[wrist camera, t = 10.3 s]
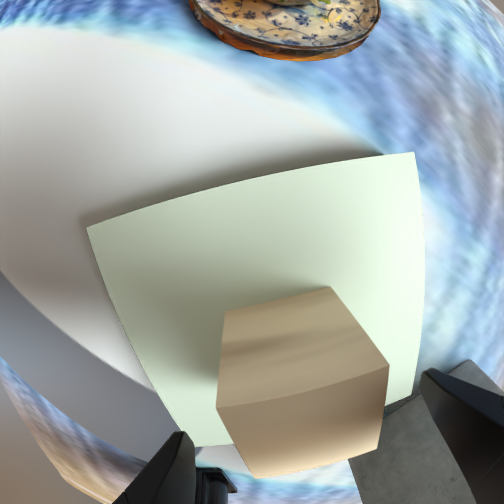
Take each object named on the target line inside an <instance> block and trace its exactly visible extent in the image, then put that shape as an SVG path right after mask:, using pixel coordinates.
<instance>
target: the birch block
mask: <svg viewBox="0 0 504 504" xmlns="http://www.w3.org/2000/svg"><path fill="white" fill-rule="evenodd" d="M389 368H390V364H389V363H388V362H387V360H386V359H385V357H384V356H383V355H382V353H381V352H380V351H379V349H378V348H377V347H376V345H375V344H374V343H373V341H372V340H371V338H370V337H369V336H368V334H367V333H366V332H365V330H364V329H363V328H362V326H361V325H360V324H359V323H358V321H357V320H356V319H355V317H354V316H353V315H352V313H351V312H350V311H349V309H348V308H347V307H346V306H345V304H344V303H343V302H342V300H341V299H340V298H339V297H338V295H337V294H336V293H335V291H334V290H333V289H332V288H331V287H327V288H323V289H319V290H316V291H312V292H308V293H304V294H300V295H296V296H291V297H287V298H283V299H279V300H275V301H270V302H266V303H261V304H257V305H253V306H248V307H243V308H239V309H234V310H229V311H225V317H224V326H223V335H222V345H221V355H220V365H219V375H218V385H217V396H216V407H215V408H216V410H217V412H218V414H219V416H220V418H221V420H222V422H223V424H224V426H225V428H226V430H227V432H228V433H229V435H230V437H231V439H232V441H233V443H234V444H235V446H236V448H237V450H238V452H239V453H240V455H241V457H242V458H243V460H244V462H245V464H246V465H247V467H248V469H249V470H250V472H251V474H252V475H253V477H254V478H255V479H258V478H266V477H272V476H279V475H285V474H290V473H295V472H300V471H305V470H309V469H313V468H317V467H321V466H325V465H329V464H332V463H336V462H339V461H343V460H346V459H349V458H352V457H355V456H358V455H361V454H364V453H367V452H369V451H372V450H375V449H377V445H378V441H379V436H380V431H381V425H382V420H383V414H384V408H385V401H386V394H387V386H388V378H389Z"/></svg>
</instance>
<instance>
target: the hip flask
mask: <svg viewBox="0 0 504 504" xmlns="http://www.w3.org/2000/svg"><path fill="white" fill-rule="evenodd" d="M448 374H449V375H451V376H454V377H456V378H459V379H461V380H464V381H466V382H469V383H471V384H474V385H476V386H479V387H481V388H484V389H487V390H489V391H492V392H494V393H497V394H500V395H503V396H504V392H503V391H502V390H501V389H500V388H499V387H498V386H497V385H496V384H495V383H494V382H493V381H492V380H491V379H490V378H489V377H488V376H487V375H486V374H485V373H484V372H483V371H482V370H481V369H480V368H479V367H478V366H477V365H476V364H475V363H474V362H473V361H472V360H467V361H465V362H464V363H462V364H461V365H460V366H458V367H457V368H455V369H454V370H453V371H451V372H450V373H448ZM348 461H349V464H350V467H351V470H352V473H353V476H354V479H355V482H356V485H357V488H358V491H359V494H360V497H361V500H362V503H363V504H477V503H476V501H475V499H474V496H473V494H472V492H471V490H470V488H469V486H468V484H467V482H466V480H465V478H464V476H463V474H462V472H461V470H460V468H459V466H458V464H457V462H456V460H455V458H454V457H453V455H452V453H451V451H450V449H449V447H448V446H447V444H446V442H445V440H444V438H443V437H442V435H441V433H440V431H439V430H438V428H437V426H436V424H435V423H434V421H433V419H432V417H431V415H430V412H429V410H428V408H427V405H426V403H425V401H424V399H423V396H422V394H419V395H418V396H416V397H415V398H414V399H412V400H411V401H409V402H408V403H406V404H405V405H403V406H402V407H400V408H399V409H397V410H396V411H394V412H393V413H391V414H390V415H388V416H387V417H385V418H384V419H383V420H382V425H381V431H380V436H379V441H378V445H377V449H375V450H372V451H369V452H367V453H364V454H361V455H358V456H355V457H352V458H349V459H348Z"/></svg>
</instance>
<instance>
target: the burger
mask: <svg viewBox="0 0 504 504" xmlns="http://www.w3.org/2000/svg"><path fill="white" fill-rule="evenodd" d="M189 3H190V8H191V10H192V12H193V13H194V16H195V18H196V19H197V20H199V21H200V22H201V23H202V24H203V25H204V27H208V28H209V29H210V30H211V31H213V32H214V33H216V34H217V36H218V37H219V38H220V39H221V40H222V41H223V42H225V43H228V44H231V45H232V46H234V47H235V48H238V49H242V50H253V51H255V52H256V53H258V54H259V56H264V57H269V58H273V59H279V60H291V61H319V60H324V59H329V58H336V57H338V56H341V55H343V54H346V53H349V52H351V51H352V50H354V49H355V48H357V47H359V46H360V45H361V44H362V43H363V42H364V41H365V40H366V38H367V37H368V36H369V34H370V33H371V32H372V31H373V29H374V28H375V26H376V25H377V23H378V21H379V18H380V14H381V7H380V1H379V0H189Z"/></svg>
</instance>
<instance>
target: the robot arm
mask: <svg viewBox="0 0 504 504" xmlns="http://www.w3.org/2000/svg"><path fill="white" fill-rule="evenodd" d="M419 389H420V392H421V394H422V396H423V399H424V401H425V403H426V405H427V408H428V410H429V412H430V415H431V417H432V419H433V421H434V423H435V424H436V426H437V428H438V430H439V431H440V433H441V435H442V437H443V438H444V440H445V442H446V444H447V446H448V447H449V449H450V451H451V453H452V455H453V457H454V458H455V460H456V462H457V464H458V466H459V468H460V470H461V472H462V474H463V476H464V478H465V480H466V482H467V484H468V486H469V488H470V490H471V492H472V494H473V496H474V499H475V501H476V503H477V504H504V396H503V395H500V394H497V393H494V392H492V391H489V390H487V389H484V388H481V387H479V386H476V385H474V384H471V383H469V382H466V381H464V380H461V379H459V378H456V377H454V376H451V375H449V374H446V373H444V372H442V371H439V370H437V369H434V368H429V369H427V370H425V371H423V372H422V375H421V380H420V384H419ZM228 493H237V488H236V487H235V486H234V484H233V483H232V482H231V481H230V479H229V478H228V477H227V476H226V474H225V473H224V472H223V471H222V470H220V469H206V470H196V468H195V446H194V443H193V441H192V440H191V438H190V437H189V435H188V434H187V433H186V432H185V431H175V432H173V434H172V435H171V436H170V437H169V439H168V440H167V441H166V442H165V443H164V445H163V446H162V447H161V448H160V449H159V451H158V452H157V453H156V454H155V456H154V457H153V458H152V459H151V460H150V461H149V463H148V464H147V465H146V466H145V467H144V469H143V470H142V471H141V472H140V473H139V474H138V476H137V477H136V478H135V479H134V480H133V481H132V482H131V484H130V485H129V486H128V487H127V488H126V489H125V492H122V494H121V495H120V496H119V497H118V498H117V499H116V500H115V501H114V502H113V503H112V504H228Z"/></svg>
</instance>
